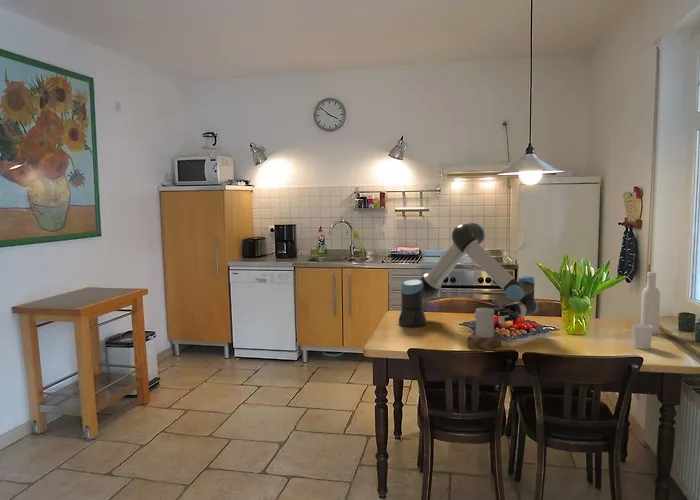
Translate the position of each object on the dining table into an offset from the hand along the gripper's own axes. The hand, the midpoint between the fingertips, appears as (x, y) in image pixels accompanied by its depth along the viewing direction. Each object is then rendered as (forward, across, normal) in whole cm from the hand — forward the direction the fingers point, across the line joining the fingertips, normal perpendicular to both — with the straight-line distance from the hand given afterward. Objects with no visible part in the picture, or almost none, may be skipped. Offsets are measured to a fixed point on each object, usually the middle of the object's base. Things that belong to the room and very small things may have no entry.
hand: (486, 317), depth 239 cm
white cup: (-49, -47, -14) cm, 69 cm away
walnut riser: (+1, 0, -13) cm, 13 cm away
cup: (+1, 0, -8) cm, 8 cm away
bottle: (-76, -39, -13) cm, 87 cm away
